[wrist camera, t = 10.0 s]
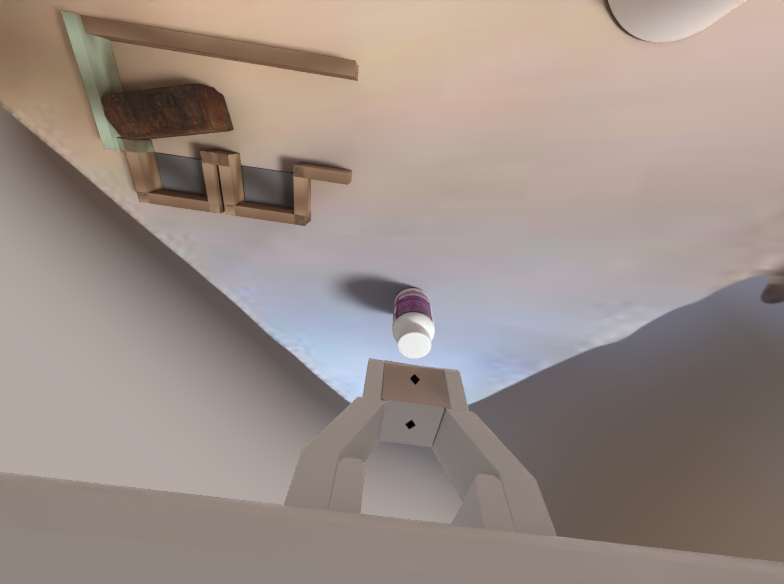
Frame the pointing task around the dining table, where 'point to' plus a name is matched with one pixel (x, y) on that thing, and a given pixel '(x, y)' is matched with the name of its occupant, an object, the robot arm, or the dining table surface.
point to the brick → (167, 112)
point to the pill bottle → (413, 323)
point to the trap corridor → (216, 168)
